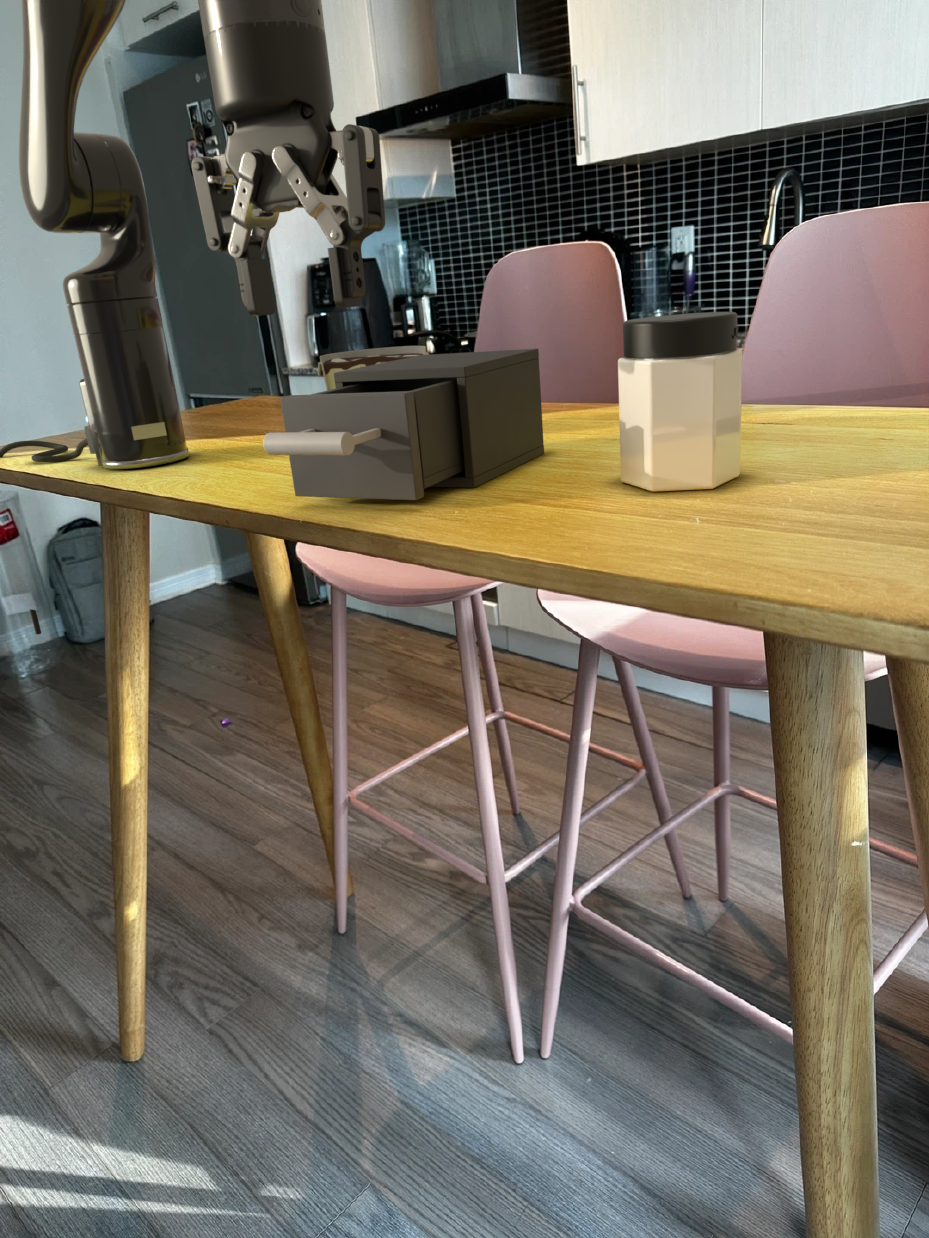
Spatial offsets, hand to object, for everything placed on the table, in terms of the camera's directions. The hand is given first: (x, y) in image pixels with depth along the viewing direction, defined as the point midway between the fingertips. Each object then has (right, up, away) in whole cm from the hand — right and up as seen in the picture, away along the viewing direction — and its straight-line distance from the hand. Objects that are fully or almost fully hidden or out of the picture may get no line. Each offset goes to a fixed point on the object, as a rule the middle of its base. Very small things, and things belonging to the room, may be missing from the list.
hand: (304, 310), depth 61 cm
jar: (+28, -11, +7) cm, 31 cm away
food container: (+3, -2, +38) cm, 38 cm away
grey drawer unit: (+10, -7, +20) cm, 24 cm away
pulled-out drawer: (+4, -11, +10) cm, 16 cm away
